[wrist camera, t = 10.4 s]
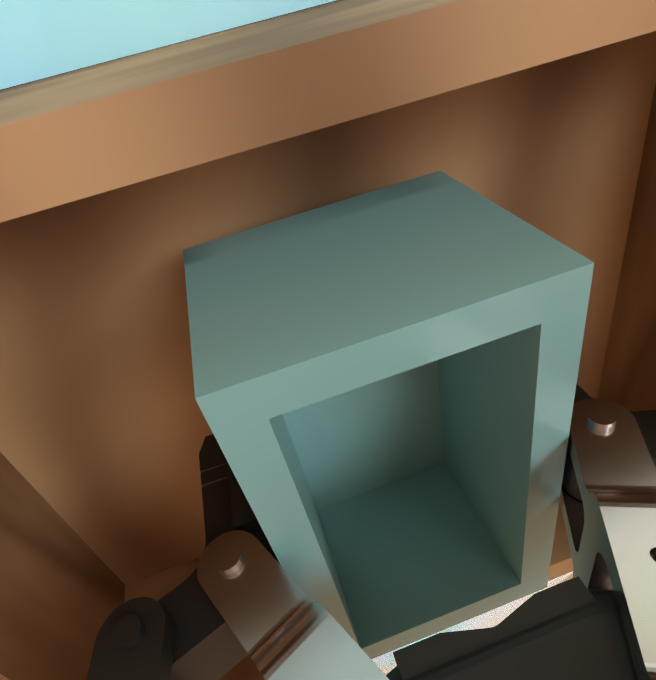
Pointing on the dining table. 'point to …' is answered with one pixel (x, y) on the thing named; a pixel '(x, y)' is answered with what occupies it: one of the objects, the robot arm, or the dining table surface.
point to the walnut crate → (262, 208)
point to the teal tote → (395, 398)
